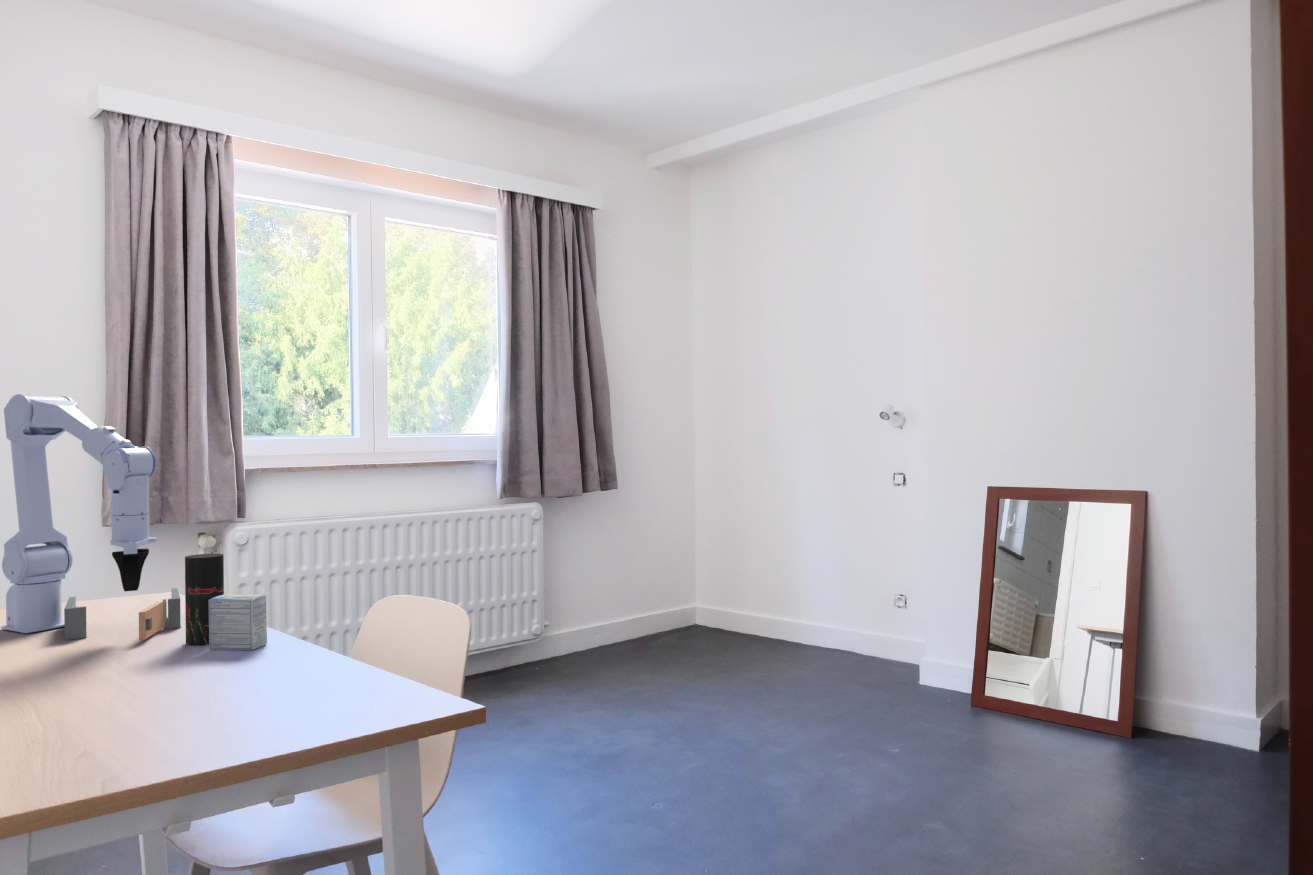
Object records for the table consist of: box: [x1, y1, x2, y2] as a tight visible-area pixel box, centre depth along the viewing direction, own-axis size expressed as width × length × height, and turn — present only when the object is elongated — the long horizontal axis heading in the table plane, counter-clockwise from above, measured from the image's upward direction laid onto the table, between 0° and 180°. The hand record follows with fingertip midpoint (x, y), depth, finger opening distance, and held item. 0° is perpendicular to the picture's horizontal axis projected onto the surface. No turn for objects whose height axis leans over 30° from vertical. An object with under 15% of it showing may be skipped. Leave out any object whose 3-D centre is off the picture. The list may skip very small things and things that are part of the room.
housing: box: [63, 587, 181, 641], centre depth 163 cm, size 14×18×6 cm
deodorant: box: [184, 553, 225, 647], centre depth 150 cm, size 6×6×15 cm
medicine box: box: [208, 593, 268, 651], centre depth 146 cm, size 8×4×9 cm, turn 84°
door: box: [138, 600, 164, 641], centre depth 155 cm, size 2×10×5 cm, turn 14°
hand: (131, 590), depth 154 cm, fingers closed
